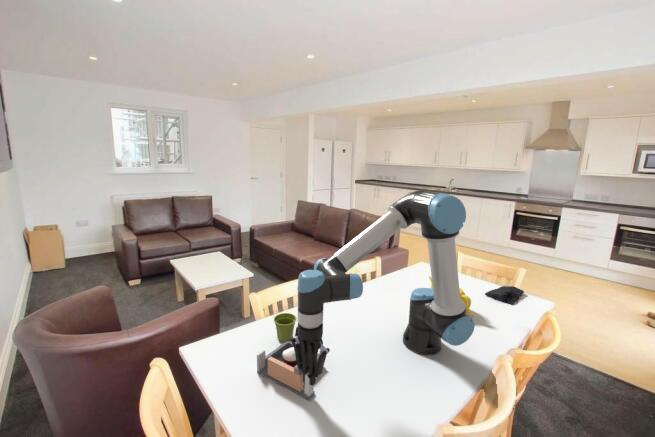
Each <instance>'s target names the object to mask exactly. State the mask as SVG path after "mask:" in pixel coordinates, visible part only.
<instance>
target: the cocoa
mask: <svg viewBox="0 0 655 437" xmlns="http://www.w3.org/2000/svg"><path fill="white" fill-rule="evenodd" d="M296 335H297V336H298V326H296V327H295V334H294V337H295V336H296ZM282 355H283V362H284V363H285V364H287V365H289V366H291V367H293V368H294V367H295V366H296V365H297V362H296V356H295V351H294V346H293V347H292V348H289V349H287V350H285V351H283V354H282Z"/></svg>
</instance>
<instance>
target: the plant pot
mask: <svg viewBox="0 0 655 437" xmlns="http://www.w3.org/2000/svg"><path fill="white" fill-rule="evenodd" d="M297 321H298V317H297V316H296V315H295V314H293V313H290V312H283V313H278V314H276V315H275V316H274V317H273V323H274V325H275V329H276V336H277V340H278V341H280V342H283V343H285V342H286V341H287V340H289V341H291V339H292V338H294V337H293V336H294V330H295V324H296V322H297Z"/></svg>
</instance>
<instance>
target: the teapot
mask: <svg viewBox="0 0 655 437" xmlns="http://www.w3.org/2000/svg"><path fill="white" fill-rule="evenodd" d="M428 278H429V280H430V283H431V285H430V286H431V287H430V288H431V289H433V285H432V276H428ZM459 291H460V299H461V300H462V301H463V302H464V303H465V306H466V314H467V316H469V317H471V315H472V311H471V310H470V307H471V306H472V300H471V298H470V297H469V296H468V295H466V293H465V292H464V291H463V289H462V288H460V287H459Z"/></svg>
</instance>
